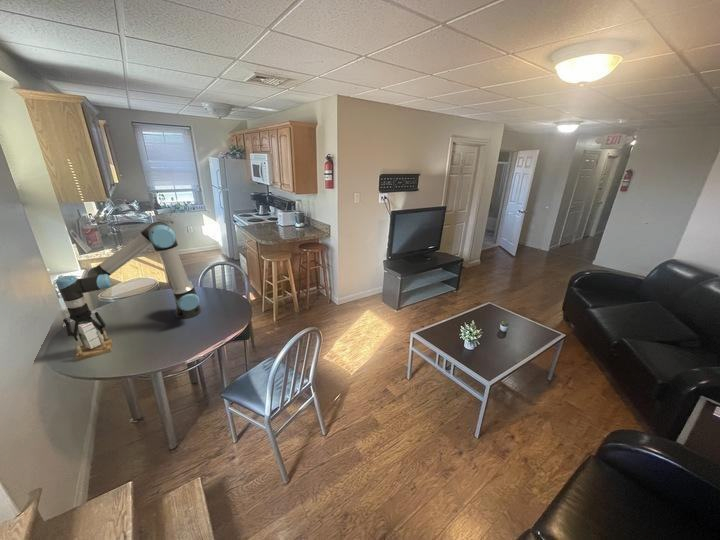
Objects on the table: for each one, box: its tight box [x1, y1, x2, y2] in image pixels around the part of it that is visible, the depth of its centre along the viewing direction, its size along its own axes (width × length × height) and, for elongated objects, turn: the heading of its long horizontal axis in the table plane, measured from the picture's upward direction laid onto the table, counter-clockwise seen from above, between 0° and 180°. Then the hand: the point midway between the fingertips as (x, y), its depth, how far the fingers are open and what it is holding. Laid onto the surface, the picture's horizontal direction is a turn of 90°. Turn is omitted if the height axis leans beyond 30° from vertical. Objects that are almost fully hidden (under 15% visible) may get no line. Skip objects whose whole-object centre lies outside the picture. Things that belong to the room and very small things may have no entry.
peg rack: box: [74, 329, 114, 362], centre depth 156 cm, size 12×14×8 cm
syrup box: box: [77, 321, 101, 349], centre depth 153 cm, size 6×6×14 cm
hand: (92, 341), depth 155 cm, fingers open, 8 cm apart
